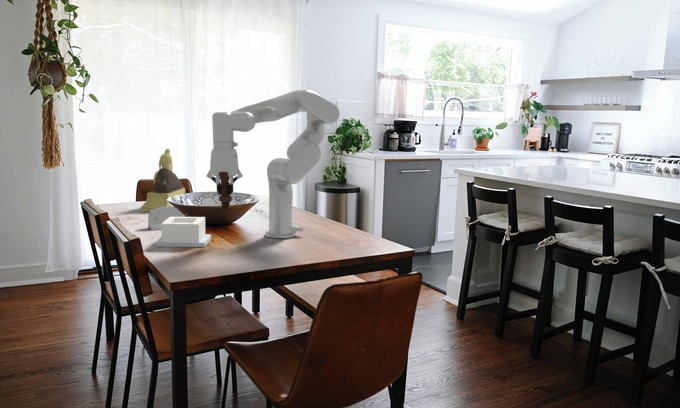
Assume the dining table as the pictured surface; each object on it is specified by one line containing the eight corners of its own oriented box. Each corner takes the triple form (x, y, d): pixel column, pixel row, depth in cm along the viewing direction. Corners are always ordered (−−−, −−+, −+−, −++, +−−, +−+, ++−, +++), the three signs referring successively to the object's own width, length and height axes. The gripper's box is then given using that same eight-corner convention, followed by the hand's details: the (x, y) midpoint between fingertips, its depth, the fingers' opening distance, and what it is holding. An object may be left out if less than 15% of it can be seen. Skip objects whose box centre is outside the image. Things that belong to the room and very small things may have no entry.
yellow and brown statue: (164, 202, 292) (163, 146, 287) (187, 203, 291) (186, 147, 286) (140, 211, 265) (138, 150, 260) (165, 212, 263) (163, 151, 258)
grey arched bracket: (150, 230, 224) (147, 206, 225) (148, 232, 228) (145, 208, 229) (190, 227, 233) (187, 204, 234) (187, 228, 237) (184, 206, 238)
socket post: (211, 238, 214) (211, 217, 213) (205, 246, 200) (204, 224, 199) (164, 237, 213) (164, 216, 211) (155, 246, 199) (154, 223, 198)
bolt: (225, 212, 202) (223, 172, 199) (215, 210, 205) (213, 171, 202) (236, 209, 207) (234, 170, 204) (226, 208, 210) (224, 169, 207)
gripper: (246, 145, 206) (248, 192, 209) (202, 145, 205) (204, 192, 208) (244, 146, 198) (246, 196, 202) (199, 146, 197) (201, 196, 201)
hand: (225, 193), depth 205 cm, fingers closed on bolt, 3 cm apart
